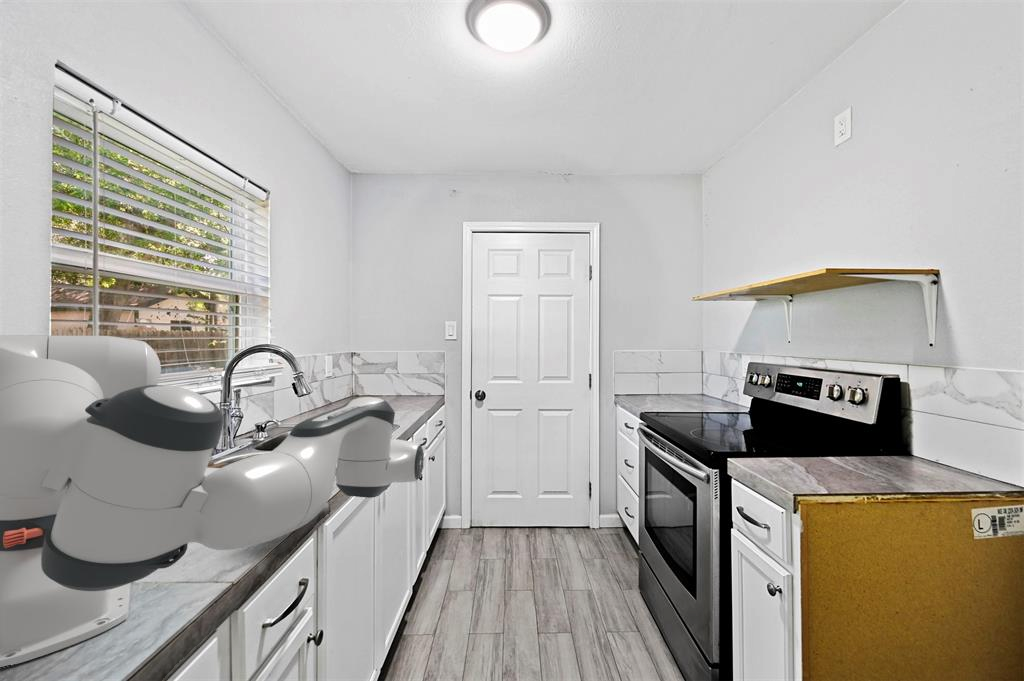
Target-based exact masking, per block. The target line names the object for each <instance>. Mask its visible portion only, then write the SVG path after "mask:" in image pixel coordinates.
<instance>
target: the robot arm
mask: <svg viewBox="0 0 1024 681" xmlns="http://www.w3.org/2000/svg"><path fill="white" fill-rule="evenodd" d="M160 361H161V360H160V358H159V356H158V354H157V352H156V351H155V350H154V349H153V347H152V346H150V345H149V344H148V343H147V342H146V341H143V340H139V339H138V340H137V339H132V338H127V337H121V336H120V337H119V336H112V335H64V334H63V335H57V334H56V335H53V334H52V335H42V334H41V335H36V334H35V335H29V334H27V335H23V334H19V335H18V334H16V335H15V334H12V335H11V334H8V335H7V334H2V335H1V334H0V666H1V667H2V666H6V665H11V666H15V665H17V664H20V663H21V664H22V663H25V662H27V661H31V660H33V659H36V658H39V657H43V656H45V655H48V654H51V653H54V652H57V651H59V650H62V649H65V648H68V647H70V646H72V645H76V644H78V643H80V642H83V641H85V640H88V639H90V638H93V637H95V636H97V635H99V634H101V633H104V632H106V631H108V630H110V629H112V628H113V627H115V626H117V625H119V624H121V623H122V622H124V621H125V620H127V619H128V618H129V615H130V606H131V605H130V604H131V592H132V583H133V582H136V581H139V580H141V579H144V578H146V577H148V576H150V575H151V574H152V573H155V572H157V570H159V569H160V570H161V569H167V568H169V567H171V566H173V565H174V564H176V563H177V562H178V561H179V560H180V559H181V558H182V557H183V556H184V555H186V553H187V552H186V551H187V550H188V544H189V543H190V544H191V543H197V544H200V545H203V546H204V547H205V548H208V549H210V550H211V549H212V550H214V551H233V550H238V549H244V548H248V547H253V546H256V545H261V544H263V543H267V542H270V541H273V540H275V539H278V538H280V537H282V536H286V535H287V534H289V533H291V532H293V531H294V532H295V531H296V530H298V529H300V528H302V527H304V526H305V525H307V524H308V523H310V522H312V520H314V519H315V518H316V517H317V516H318V515H319V513H321V511H322V510H324V507H325V506H326V505H327V503H328V501H329V500H330V497H331V495H332V492H333V488H334V485H336V487H337V488H338V489H339V491H341V493H343V494H344V495H345V496H347V497H354V498H355V497H359V498H367V499H369V498H377V497H378V496H380V495H381V494H382V493H383V492H384V491H386V490H387V489H388V488H390V486H391V485H392V484H395V483H396V484H397V483H413V482H416V481H418V480H419V478H420V477H421V476H422V474H423V473H422V472H423V468H424V455H425V454H424V449H423V447H422V445H421V444H420V443H418V442H415V441H414V442H413V441H409V440H405V439H398V438H392V437H393V427H394V423H395V422H394V421H395V417H396V416H395V414H396V412H395V410H394V409H393V408H392V406H391V405H390V403H388V402H387V400H385V399H383V398H379V397H373V396H364V397H358V398H355V399H351V400H348V401H347V402H345V403H344V404H343V405H342V406H341V405H340V406H338V407H336V408H333V409H330V410H328V411H325V412H323V413H319V414H317V415H315V416H311V417H309V418H306V419H305V420H303V421H301V422H299V423H297V424H295V425H294V427H293V428H292V429H291V431H289V434H288V435H287V437H286V438H285V439H284V440H283V441H282V442H281V443H280V444H279V445H278V446H277V447H275V448H273V450H271V451H269V452H264V453H259V454H256V455H251V456H249V457H245V458H242V459H240V460H236V461H234V462H231V463H228V465H226V466H224V467H222V468H207V466H208V463H209V462H210V460H211V456H212V453H213V450H214V448H215V447H217V446H218V445H219V443H220V439H221V437H222V436H221V435H222V431H223V425H224V414H223V413H222V411H221V410H220V408H219V407H218V405H217V404H216V403H215V402H213V401H212V400H210V399H208V398H206V397H205V396H202V395H201V394H199V393H198V392H195V391H194V390H193V391H192V390H191V389H188V388H184V387H179V386H174V385H173V386H172V385H162V384H161V385H158V384H159V382H160V379H161V374H162V365H161V362H160ZM14 664H15V665H14Z"/></svg>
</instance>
